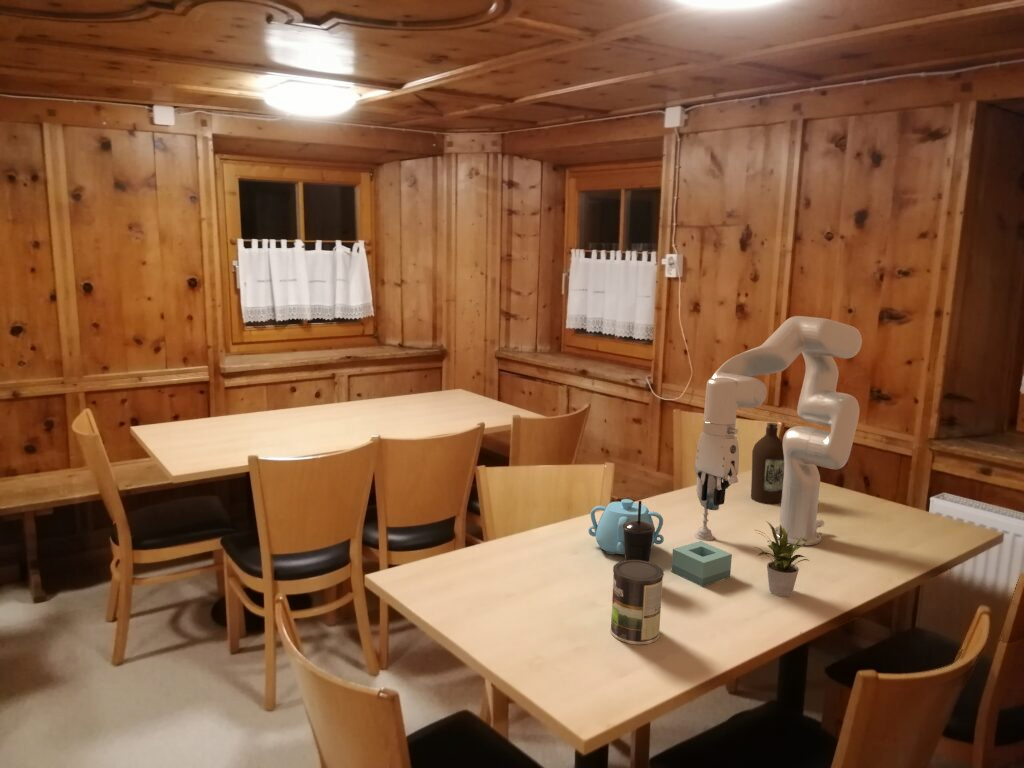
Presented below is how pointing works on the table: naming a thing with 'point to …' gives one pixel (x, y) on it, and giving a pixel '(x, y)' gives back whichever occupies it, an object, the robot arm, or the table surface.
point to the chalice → (704, 531)
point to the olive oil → (768, 468)
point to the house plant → (782, 564)
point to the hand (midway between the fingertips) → (712, 501)
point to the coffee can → (636, 601)
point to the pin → (711, 493)
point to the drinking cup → (638, 538)
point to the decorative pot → (620, 524)
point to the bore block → (701, 563)
